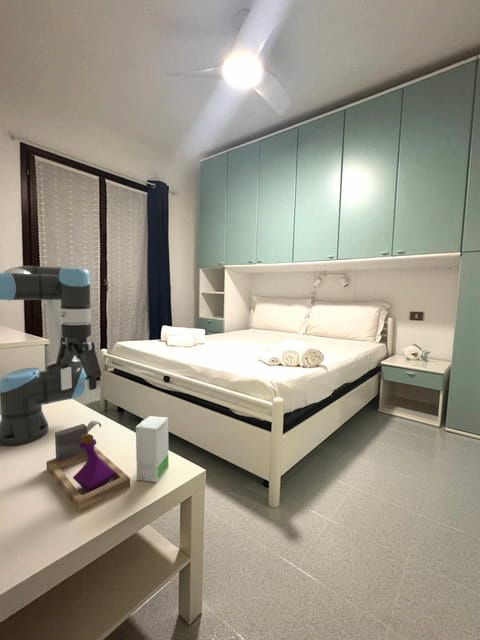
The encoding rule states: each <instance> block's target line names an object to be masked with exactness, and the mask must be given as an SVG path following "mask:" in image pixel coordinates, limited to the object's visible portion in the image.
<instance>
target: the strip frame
mask: <svg viewBox="0 0 480 640" xmlns="http://www.w3.org/2000/svg"><path fill="white" fill-rule="evenodd" d="M87 426H88V425H86V424H85V423H81V424H78V425H75V426H74V425H73V426H71V427H68V428H65V429H61V430H58V431H55V432H54V441H55V442H54V443H55V458H52V459H49V460H47V461H45V462H46V470H47V472H48V473H49V475H50V477H52V479H53V481H55V483H56V484H57V486H58V487H59V488H60V489H61V491H62V492H63V493H64V495H65V497H66V499H68V501H69V502H70V503H71V504H72V506H73V507H74V509H75V511H77V512H78V513H82V512H83V511H85V510H87V509H89V508H91V507H93V506H95V505H97V504H99V503H101V502H104V501H105V500H107V499H109V498H111V497H113V496H115V495H118V494H119V493H121V492H123V491H125V490H127V489H129V488H131V478H130V477H129V475H128V474H126V473H125V472H124V471H123V470H122V469H121V468H119V467H118V465H116V464H115V463H114V462H113V461H112V460H110V459H109V458H108V457H107V456H106V455H105V454H103V452H101V451H100V450H99V449H98V448H97V447H96V446H94V450H95V452H96V454H97V455H98V457H99V458H100V459H101V460H102V461H103V462H104V463H105V464H106V465H107V466H108V467H110V468H111V469H112V470H113V471H114V472H115V474H114V475H113V476H112V479H113V481H109V482H108V483H107V484H106V485H104V486H102V487H100V488H97V489H95V490H93V491H91V492H89V491H88V492H87V493H84V494H83V495H82V494H81V493H80V492H79V490H78V489H77V488H76V487H75V486H74V484H73V483H72V482H71V481H70V479H69V477H67V476H66V474H65V473H64V472H63V469H67V468H69V467H71V466H73V465H75V464H78V463H81V462H84V461H87V460H88V455H87V452H86V450H85V449H82V448H80V446H79V444H80V442H81V441H82V440H81V436H82V435H85V434H87Z"/></svg>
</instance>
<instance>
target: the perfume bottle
mask: <svg viewBox="0 0 480 640" xmlns="http://www.w3.org/2000/svg"><path fill="white" fill-rule="evenodd" d="M97 425H98V426H99V427H100V428H101V427H102V424H101V422H100V421H97V420H91V421H89V422H88V425H86V426H87V434H85V435H82V436H81V440H82V441H81V442H80V444H79V446H80V448H82V449H85V450H86V452H87V455H88V459H87V460H86V463H85V464H84V465H83V466H82V467H81V469H79V471H78V472H76V473H75V474H74V476H73V477H72V478H73V480H74V481H76V483H78V485H79V486H81V487H82V488H83V489H84V490H85V491H86V492H88V493H89V492H91V491H93V490H95V489H97V488H100V487H102V486H104V485H106V484H108V483H110V481H111V479H113V477H112V476H113V475H114V474H115V472H114V471H113V470H112V469H111V468H110V467H108V466H107V465H106V464H105V463H104V462H103V461H102V460H101V459H100V458H99V457H98V455H97V454H96V452H95V450H94V447H96V445H97V441H96V439H94V436H93V435H92V434H91V433H89V432H90V431H91V430H92V429H93V428H95V426H97Z"/></svg>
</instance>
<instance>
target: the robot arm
mask: <svg viewBox="0 0 480 640" xmlns="http://www.w3.org/2000/svg"><path fill="white" fill-rule="evenodd" d="M90 278H91V275H90V271H89V270H88V269H85V268H71V267H69V268H68V267H61V266H58V267H57V266H37V265H34V266H33V265H20V266H15V267H11V268H8V269H6V270H4V271H3V272H0V301H33V300H34V301H37V300H38V301H41V302H42V303H44V304H45V309H46V310H45V311H46V321H47V322H46V323H47V332H48V345H49V354H50V355H49V357H50V358H49V359H50V362H49V363H48V364H47V365H46V370H44V371H41V369H40V368H39V367H26V368H20V369H17V370H13V371H10V372H9V373H6V374H4V375H3V376H2V377H0V416H1V417H0V418H1V419H0V446H5V447H6V446H7V447H10V446H11V447H12V446H13V447H14V446H18V445H19V446H20V445H24V444H28V443H32V442H35V441H37V440H39V439H41V438H42V437H44V436H46V435H47V433H49V422H48V420H47V418H46V416H45V414H44V412H43V409H42V408H43V406H42V405H43V404H49V403H56V402H61V401H66V400H72V399H76V398H80V397H83V396H84V394H85V401H86V402H90V401H94V400H96V399H98V397H97V394H98V393H97V378H98V377H102V370H101V367H100V363H99V360H98V356H97V353H96V349H95V342H94V341H90V342H88V337H91V336H92V324H91V323H90V322H92V308H91V282H92V281H91V279H90Z"/></svg>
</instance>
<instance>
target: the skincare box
mask: <svg viewBox="0 0 480 640" xmlns="http://www.w3.org/2000/svg"><path fill="white" fill-rule="evenodd" d="M135 447H136V448H135V450H136V452H135V453H136V480H137V481H142V482H149V483H158V482H159V480H160V479H161V478H162V477H163V475H164V474H165V472H166V471H167V470H168V469H169V461H170V460H169V459H170V457H169V417H165V416H153V415H149V416H147V417H146V418H145V419H142V420H141V422H140V423H139V424H137V425H136V426H135Z"/></svg>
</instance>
